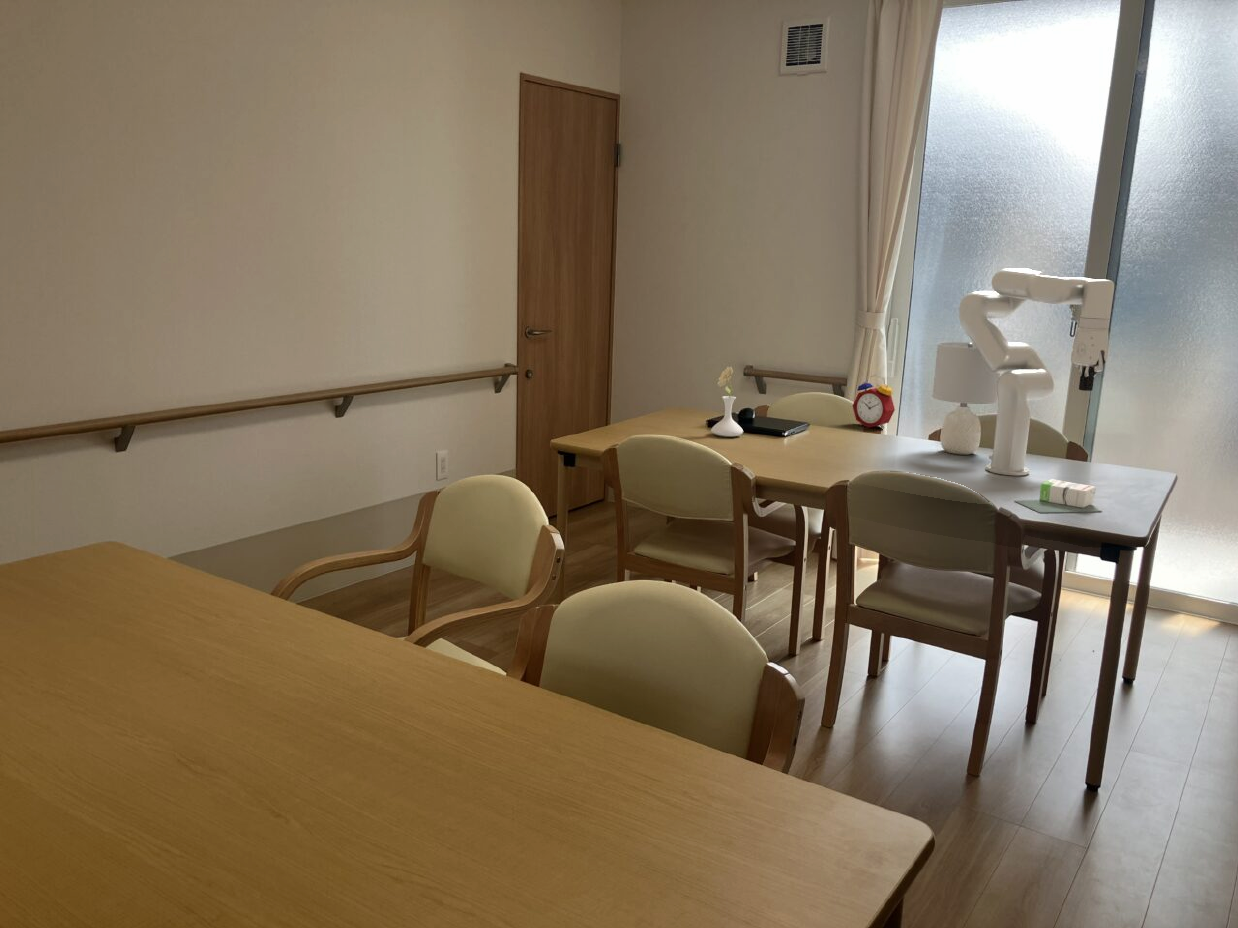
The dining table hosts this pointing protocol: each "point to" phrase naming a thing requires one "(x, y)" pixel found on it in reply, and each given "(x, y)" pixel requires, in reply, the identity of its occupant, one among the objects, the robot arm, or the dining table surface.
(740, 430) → the flower in vase
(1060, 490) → the ink box
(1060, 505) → the felt mat
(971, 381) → the lamp
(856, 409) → the alarm clock
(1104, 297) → the robot arm
